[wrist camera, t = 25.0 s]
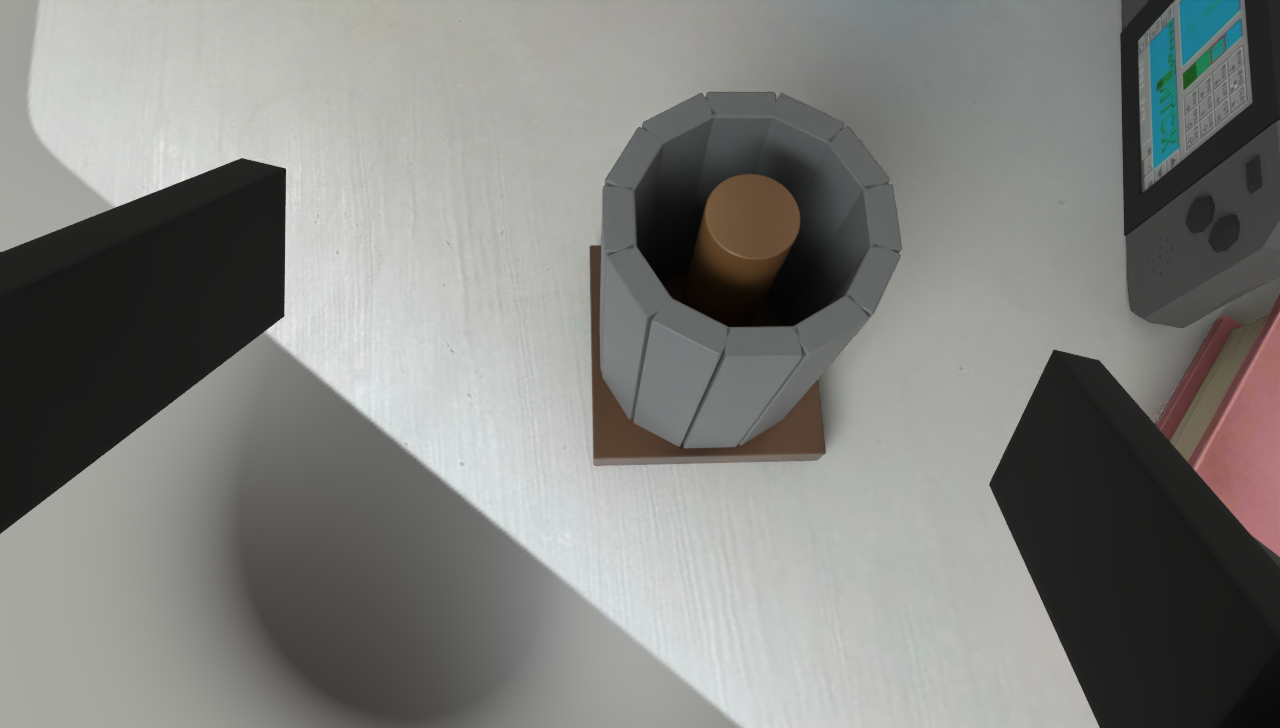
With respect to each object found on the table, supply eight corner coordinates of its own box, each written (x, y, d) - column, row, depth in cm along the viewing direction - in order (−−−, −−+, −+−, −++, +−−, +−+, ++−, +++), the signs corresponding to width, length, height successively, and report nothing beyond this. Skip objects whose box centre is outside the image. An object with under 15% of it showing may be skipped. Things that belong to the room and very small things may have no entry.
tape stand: (593, 466, 37) (593, 371, 24) (589, 259, 40) (588, 78, 27) (817, 460, 37) (934, 366, 25) (796, 257, 41) (890, 79, 28)
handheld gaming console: (1111, -42, 48) (1240, -212, 38) (1159, -33, 48) (1299, -201, 38) (1118, 329, 40) (1280, 233, 31) (1174, 339, 40) (1353, 245, 31)
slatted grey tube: (562, 385, 36) (548, 268, 25) (659, 220, 39) (687, 47, 28) (751, 486, 35) (827, 412, 24) (838, 309, 38) (942, 168, 27)
